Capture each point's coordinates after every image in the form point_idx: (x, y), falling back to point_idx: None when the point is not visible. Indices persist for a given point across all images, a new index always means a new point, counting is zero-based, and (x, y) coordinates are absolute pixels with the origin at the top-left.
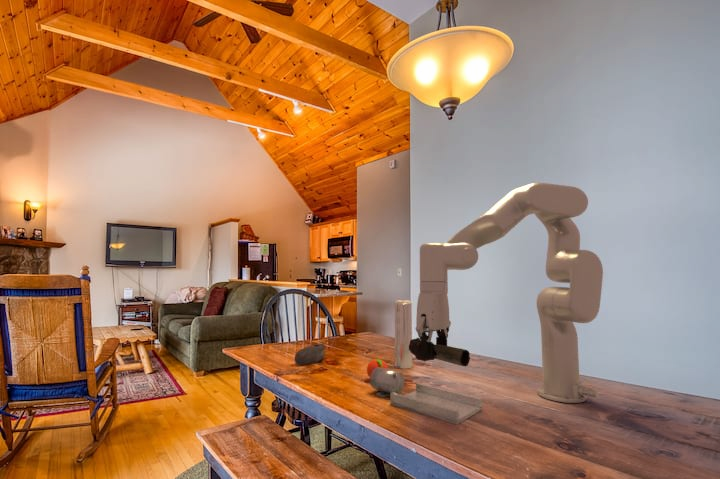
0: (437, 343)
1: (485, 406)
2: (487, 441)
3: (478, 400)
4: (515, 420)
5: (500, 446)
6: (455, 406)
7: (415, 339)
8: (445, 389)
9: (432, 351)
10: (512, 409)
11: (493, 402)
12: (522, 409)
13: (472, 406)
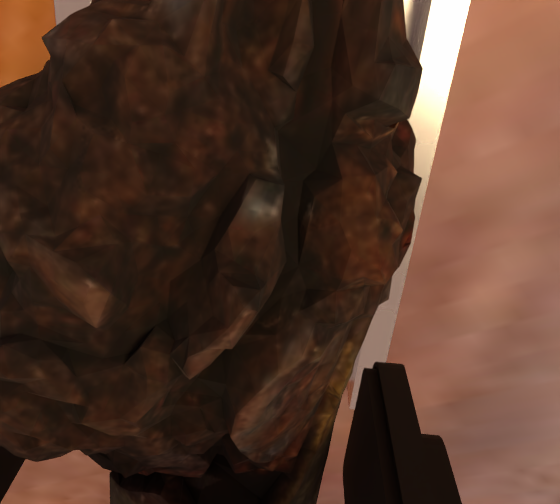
0: (372, 475)
1: (431, 367)
2: (65, 459)
3: (349, 397)
4: (326, 485)
5: (63, 492)
6: None
7: (1, 240)
8: (420, 199)
9: (3, 495)
10: (455, 456)
11: (516, 379)
12: (478, 483)
13: None
